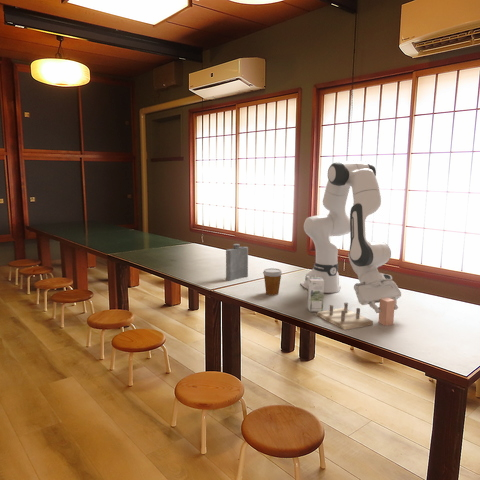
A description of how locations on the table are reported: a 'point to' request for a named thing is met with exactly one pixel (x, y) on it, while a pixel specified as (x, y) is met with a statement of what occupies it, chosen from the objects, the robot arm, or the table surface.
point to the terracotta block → (386, 311)
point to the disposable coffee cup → (272, 280)
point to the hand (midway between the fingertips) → (387, 310)
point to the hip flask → (236, 262)
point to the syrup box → (315, 294)
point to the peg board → (345, 317)
